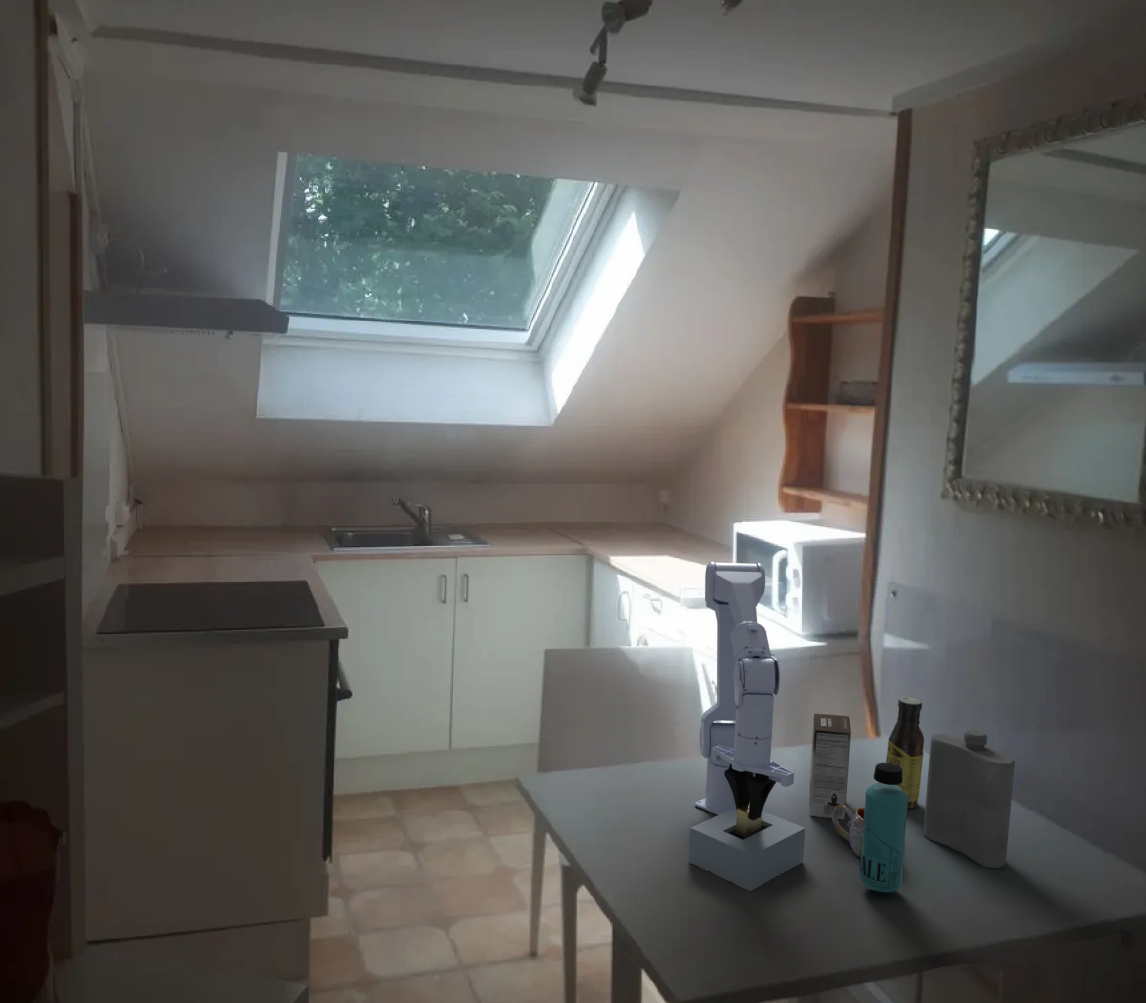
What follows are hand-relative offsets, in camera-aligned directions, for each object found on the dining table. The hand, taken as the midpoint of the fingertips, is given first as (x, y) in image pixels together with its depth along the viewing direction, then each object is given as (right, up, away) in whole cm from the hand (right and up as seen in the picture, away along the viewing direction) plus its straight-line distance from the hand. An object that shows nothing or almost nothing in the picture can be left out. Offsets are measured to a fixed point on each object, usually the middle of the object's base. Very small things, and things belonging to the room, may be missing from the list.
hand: (748, 815), depth 165 cm
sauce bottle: (+32, -6, +25) cm, 41 cm away
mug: (+20, -8, +8) cm, 23 cm away
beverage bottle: (+19, -10, -7) cm, 22 cm away
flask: (+37, -8, +8) cm, 39 cm away
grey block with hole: (0, -8, +1) cm, 8 cm away
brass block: (0, -3, 0) cm, 3 cm away
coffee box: (+18, -6, +23) cm, 29 cm away
